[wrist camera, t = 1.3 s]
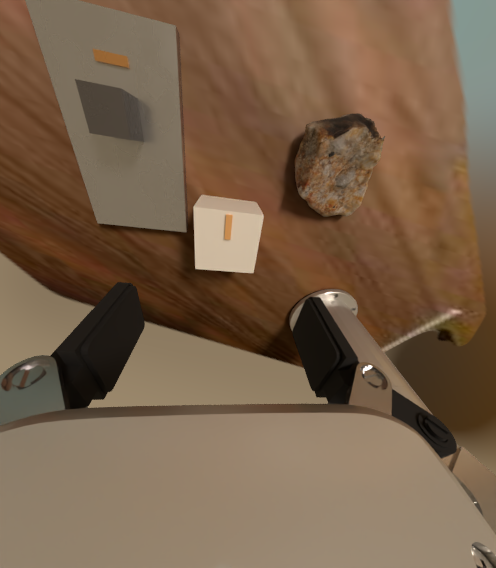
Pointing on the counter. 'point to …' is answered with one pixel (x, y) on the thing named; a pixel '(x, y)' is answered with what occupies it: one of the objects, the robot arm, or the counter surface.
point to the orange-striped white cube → (226, 234)
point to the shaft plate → (160, 95)
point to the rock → (337, 163)
